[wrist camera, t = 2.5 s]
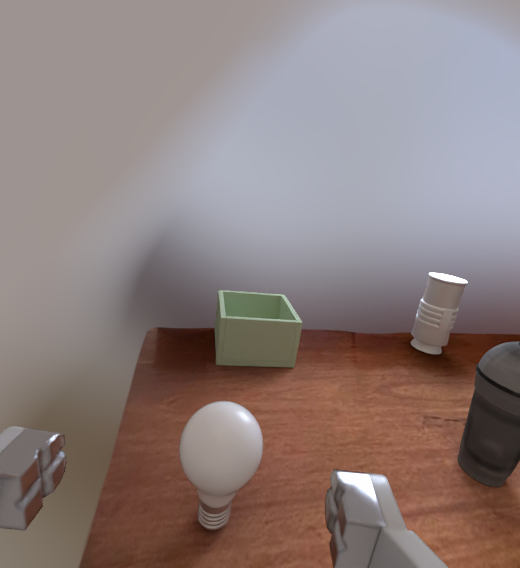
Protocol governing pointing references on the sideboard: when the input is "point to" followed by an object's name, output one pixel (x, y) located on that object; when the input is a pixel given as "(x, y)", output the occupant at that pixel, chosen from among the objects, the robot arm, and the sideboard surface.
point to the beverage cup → (494, 418)
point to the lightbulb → (220, 457)
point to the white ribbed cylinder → (437, 312)
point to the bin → (256, 330)
